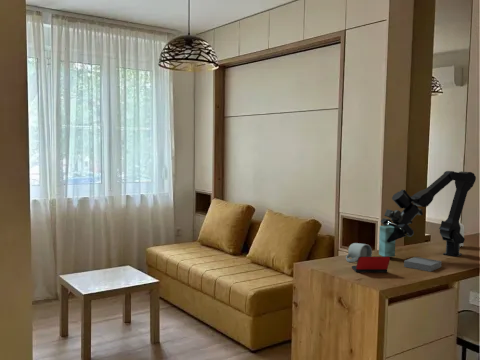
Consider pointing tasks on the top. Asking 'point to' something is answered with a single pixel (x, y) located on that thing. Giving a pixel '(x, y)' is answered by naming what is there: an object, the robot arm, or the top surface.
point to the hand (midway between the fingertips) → (384, 240)
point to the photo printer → (461, 232)
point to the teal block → (384, 246)
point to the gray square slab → (422, 264)
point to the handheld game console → (372, 264)
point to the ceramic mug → (358, 251)
